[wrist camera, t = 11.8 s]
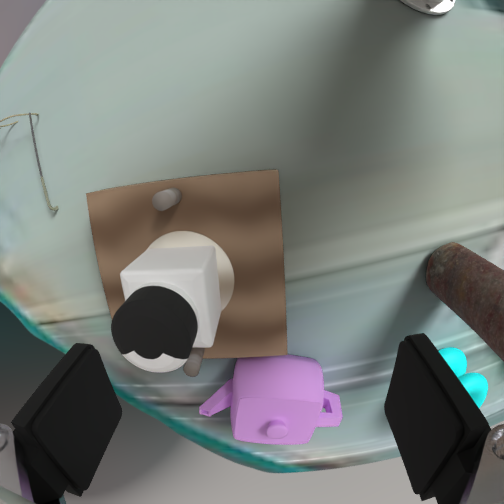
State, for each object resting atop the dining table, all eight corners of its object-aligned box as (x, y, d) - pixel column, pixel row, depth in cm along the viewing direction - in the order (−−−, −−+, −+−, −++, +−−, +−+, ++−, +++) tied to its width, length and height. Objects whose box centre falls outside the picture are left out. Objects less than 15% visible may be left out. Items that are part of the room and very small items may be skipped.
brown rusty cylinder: (421, 299, 37) (506, 388, 18) (418, 248, 35) (523, 321, 16) (463, 283, 36) (554, 354, 17) (462, 234, 34) (570, 289, 15)
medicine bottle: (146, 248, 30) (89, 296, 18) (215, 244, 30) (189, 296, 18) (157, 311, 32) (115, 380, 20) (222, 310, 32) (204, 386, 20)
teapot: (206, 398, 42) (195, 449, 32) (209, 342, 39) (196, 393, 29) (323, 407, 42) (334, 457, 33) (342, 354, 39) (360, 404, 30)
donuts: (423, 436, 32) (456, 383, 29) (401, 394, 42) (425, 343, 39) (469, 427, 32) (501, 377, 29) (445, 391, 42) (469, 343, 39)
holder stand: (106, 188, 34) (64, 199, 25) (275, 169, 33) (281, 171, 24) (136, 336, 39) (110, 377, 30) (284, 332, 38) (290, 378, 29)
